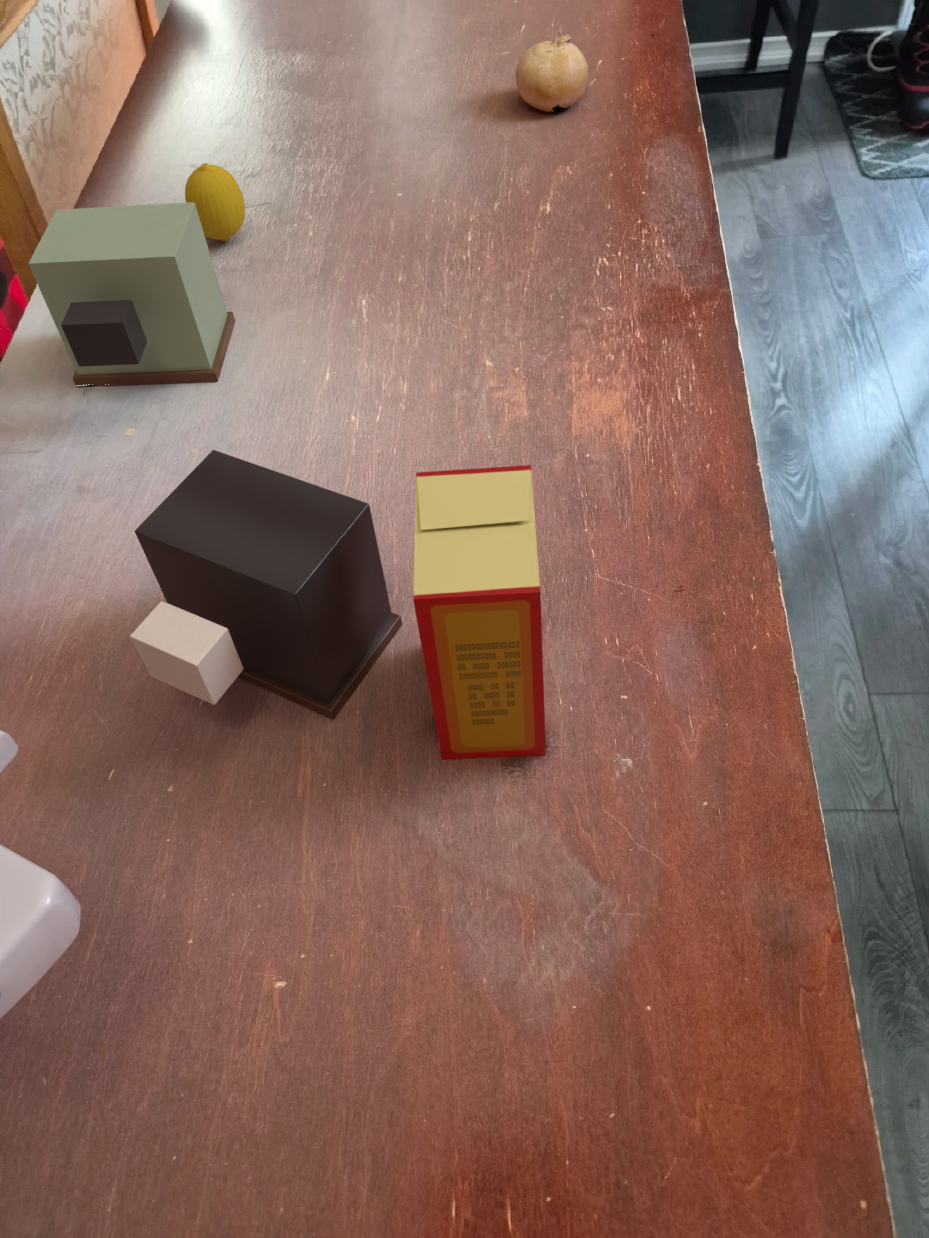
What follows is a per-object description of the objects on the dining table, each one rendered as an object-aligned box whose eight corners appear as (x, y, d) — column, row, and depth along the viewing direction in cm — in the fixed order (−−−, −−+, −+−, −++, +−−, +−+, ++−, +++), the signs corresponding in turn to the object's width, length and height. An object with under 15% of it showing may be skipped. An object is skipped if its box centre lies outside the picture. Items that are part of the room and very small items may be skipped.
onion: (577, 123, 117) (577, 55, 111) (508, 117, 119) (504, 51, 113) (594, 89, 121) (595, 23, 116) (527, 84, 123) (525, 19, 118)
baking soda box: (545, 754, 67) (540, 587, 54) (441, 759, 67) (412, 594, 55) (537, 635, 73) (530, 460, 60) (441, 640, 73) (415, 467, 61)
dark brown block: (139, 364, 85) (122, 322, 82) (78, 367, 86) (60, 325, 83) (147, 341, 87) (132, 299, 84) (88, 344, 88) (70, 302, 85)
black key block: (333, 720, 69) (297, 601, 60) (180, 652, 74) (124, 533, 65) (402, 624, 74) (378, 501, 65) (254, 566, 79) (212, 443, 69)
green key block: (217, 381, 93) (178, 259, 84) (75, 387, 94) (21, 266, 85) (235, 320, 98) (200, 199, 89) (101, 326, 100) (52, 207, 90)
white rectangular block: (214, 705, 64) (196, 665, 60) (149, 676, 65) (128, 635, 62) (244, 669, 65) (227, 628, 62) (180, 641, 67) (161, 600, 64)
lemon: (189, 254, 106) (166, 178, 100) (210, 224, 109) (189, 148, 103) (241, 258, 105) (220, 181, 99) (260, 227, 108) (242, 151, 102)
